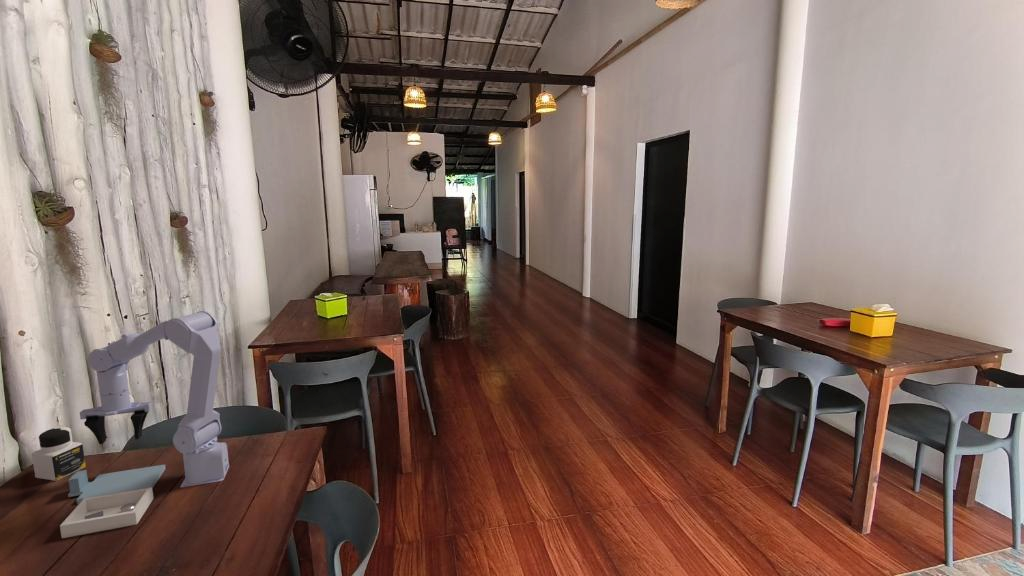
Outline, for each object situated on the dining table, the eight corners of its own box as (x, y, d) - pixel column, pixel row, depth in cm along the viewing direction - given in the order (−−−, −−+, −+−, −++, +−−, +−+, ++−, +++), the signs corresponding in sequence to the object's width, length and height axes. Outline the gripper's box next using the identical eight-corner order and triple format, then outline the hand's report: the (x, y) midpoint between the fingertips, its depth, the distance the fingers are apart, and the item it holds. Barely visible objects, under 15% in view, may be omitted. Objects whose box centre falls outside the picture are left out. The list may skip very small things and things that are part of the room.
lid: (165, 470, 123) (163, 452, 122) (150, 494, 113) (147, 474, 112) (85, 483, 117) (82, 464, 116) (61, 509, 107) (57, 488, 106)
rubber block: (103, 517, 103) (102, 510, 103) (103, 521, 102) (102, 515, 102) (85, 522, 101) (84, 516, 101) (85, 527, 100) (84, 520, 100)
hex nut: (138, 506, 107) (138, 501, 107) (133, 513, 105) (133, 508, 104) (123, 509, 106) (123, 504, 106) (118, 516, 104) (118, 511, 103)
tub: (153, 500, 110) (152, 487, 110) (137, 526, 101) (135, 512, 101) (86, 512, 106) (84, 498, 105) (62, 540, 97) (59, 525, 96)
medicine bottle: (56, 481, 118) (49, 438, 116) (34, 478, 119) (27, 435, 117) (86, 466, 125) (80, 425, 123) (66, 463, 126) (59, 423, 124)
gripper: (70, 400, 112) (78, 451, 114) (142, 393, 117) (148, 442, 119) (85, 390, 119) (92, 439, 121) (152, 383, 124) (158, 430, 126)
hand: (120, 439), depth 121 cm, fingers open, 7 cm apart
